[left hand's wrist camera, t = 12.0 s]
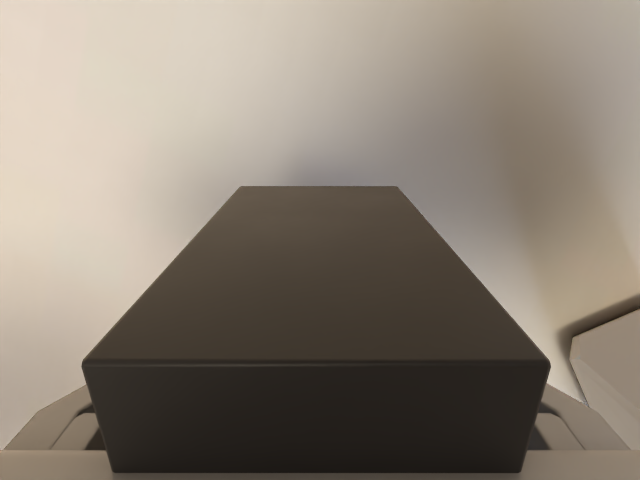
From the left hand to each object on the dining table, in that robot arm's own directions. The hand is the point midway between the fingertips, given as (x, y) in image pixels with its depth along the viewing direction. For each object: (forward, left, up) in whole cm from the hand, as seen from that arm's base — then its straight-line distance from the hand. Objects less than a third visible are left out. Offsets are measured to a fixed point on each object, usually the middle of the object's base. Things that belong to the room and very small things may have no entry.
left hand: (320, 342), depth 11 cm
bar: (+7, +6, -4) cm, 10 cm away
